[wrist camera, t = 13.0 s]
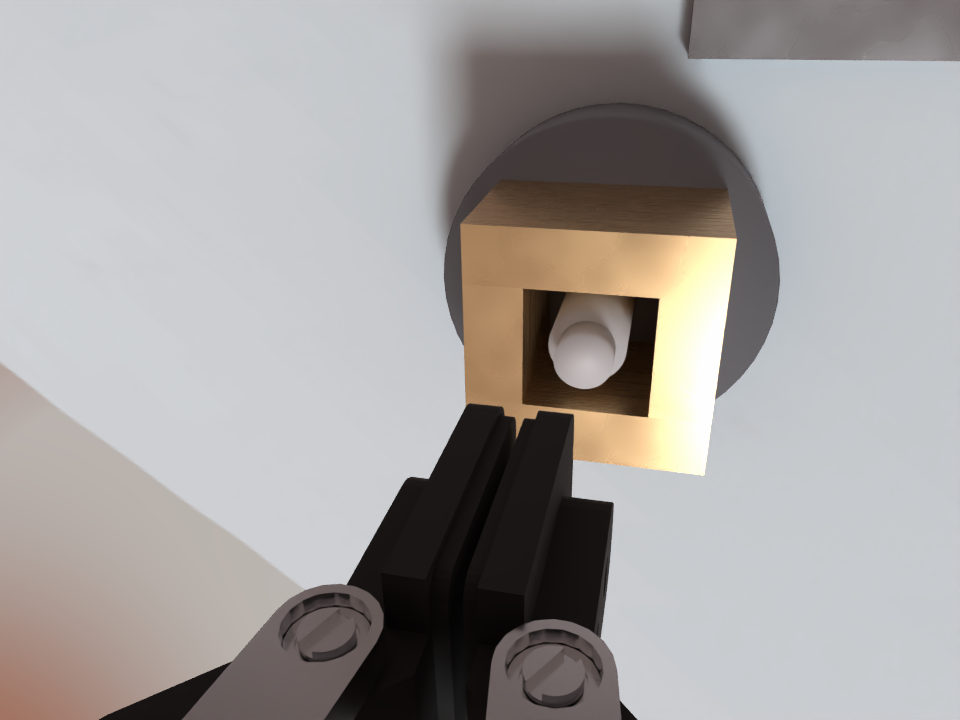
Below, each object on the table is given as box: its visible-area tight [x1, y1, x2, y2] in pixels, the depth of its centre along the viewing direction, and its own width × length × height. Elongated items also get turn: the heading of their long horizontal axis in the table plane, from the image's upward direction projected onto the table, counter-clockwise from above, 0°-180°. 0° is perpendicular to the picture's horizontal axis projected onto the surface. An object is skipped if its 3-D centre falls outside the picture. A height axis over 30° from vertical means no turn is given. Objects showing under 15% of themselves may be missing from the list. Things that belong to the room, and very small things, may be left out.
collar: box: [460, 180, 737, 475], centre depth 23 cm, size 7×7×5 cm
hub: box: [444, 103, 780, 399], centre depth 24 cm, size 11×11×8 cm
